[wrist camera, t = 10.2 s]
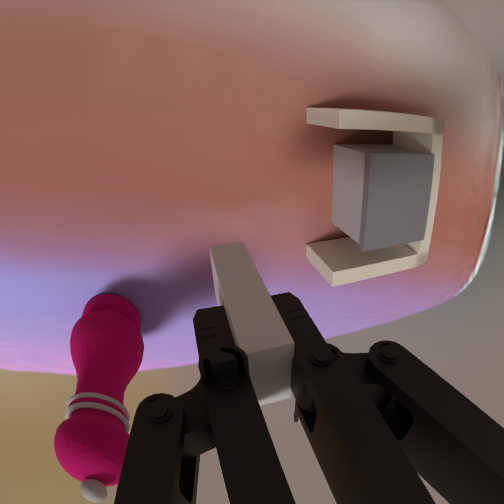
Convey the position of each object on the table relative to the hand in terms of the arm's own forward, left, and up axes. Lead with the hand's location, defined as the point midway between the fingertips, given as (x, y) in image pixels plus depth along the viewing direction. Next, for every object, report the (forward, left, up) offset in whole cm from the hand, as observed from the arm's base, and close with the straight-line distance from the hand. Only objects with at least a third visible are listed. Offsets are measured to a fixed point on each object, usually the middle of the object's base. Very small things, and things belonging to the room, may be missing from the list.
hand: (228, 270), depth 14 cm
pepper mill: (+12, -11, -14) cm, 22 cm away
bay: (+1, +15, -14) cm, 21 cm away
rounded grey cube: (+1, +16, -14) cm, 22 cm away
